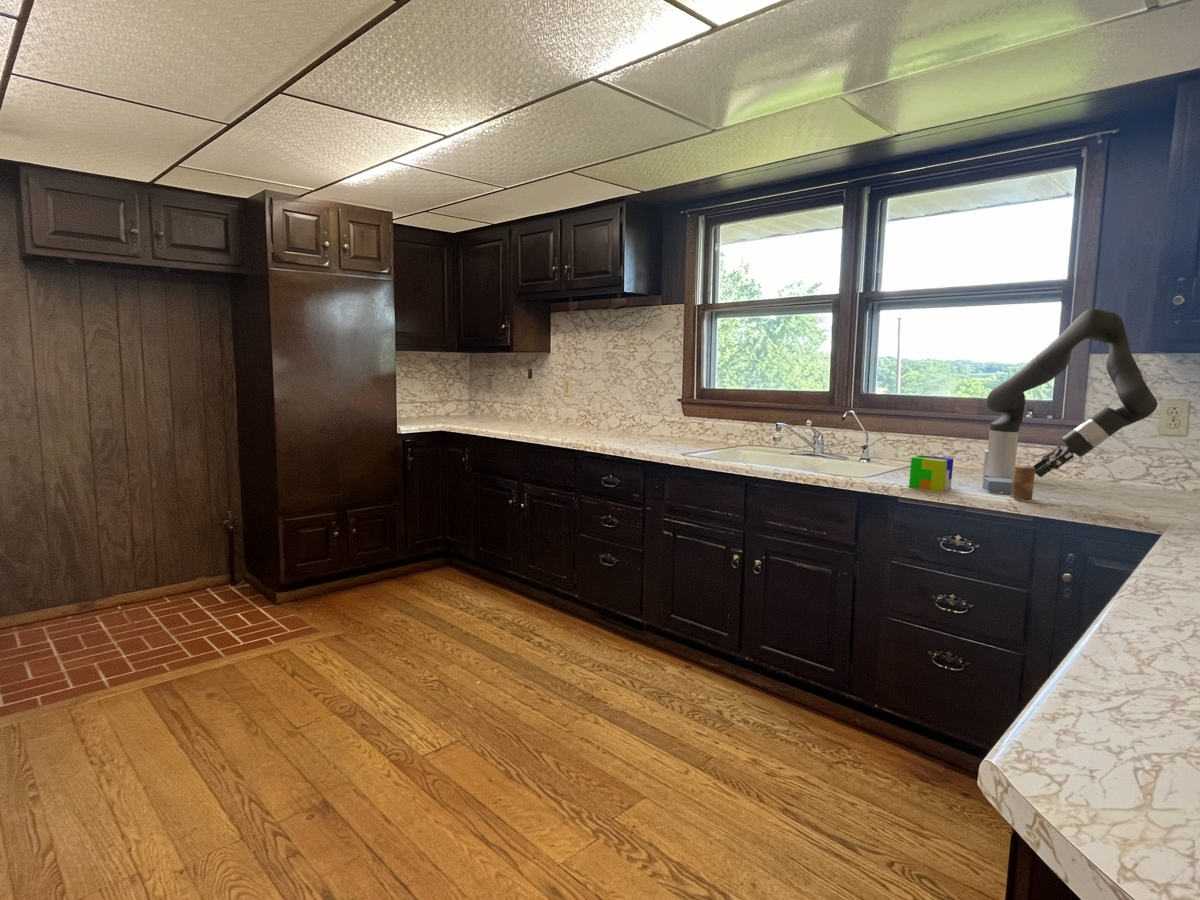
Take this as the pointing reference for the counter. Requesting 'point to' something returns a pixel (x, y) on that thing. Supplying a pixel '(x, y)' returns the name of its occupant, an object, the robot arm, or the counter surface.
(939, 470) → the puzzle toy
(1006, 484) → the slate plinth
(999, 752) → the counter surface
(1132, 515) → the counter surface
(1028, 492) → the walnut block
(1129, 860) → the counter surface
